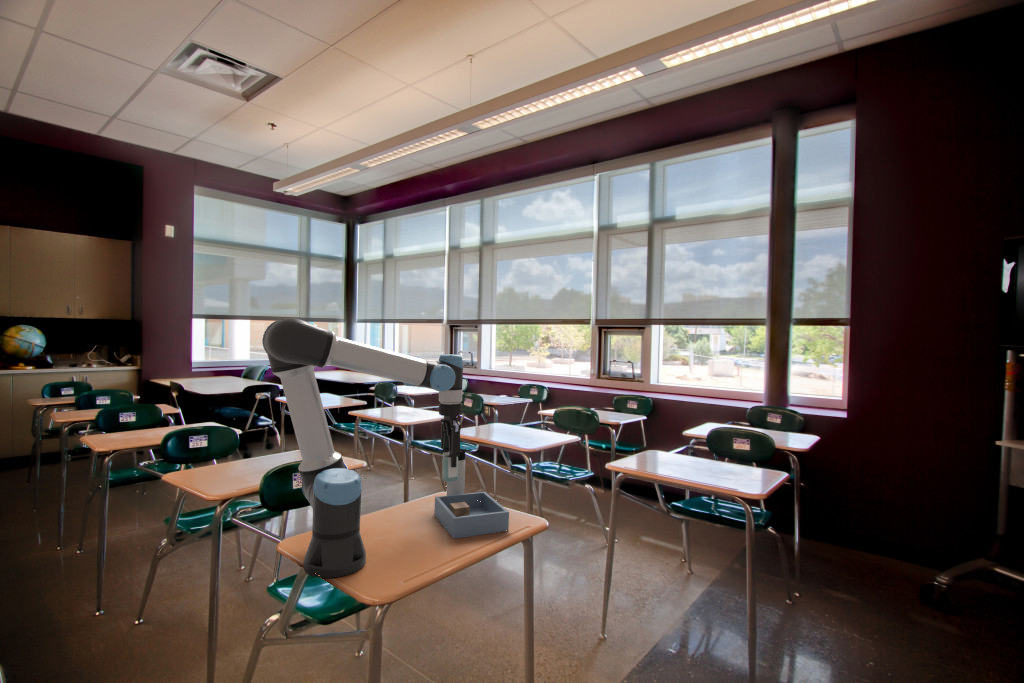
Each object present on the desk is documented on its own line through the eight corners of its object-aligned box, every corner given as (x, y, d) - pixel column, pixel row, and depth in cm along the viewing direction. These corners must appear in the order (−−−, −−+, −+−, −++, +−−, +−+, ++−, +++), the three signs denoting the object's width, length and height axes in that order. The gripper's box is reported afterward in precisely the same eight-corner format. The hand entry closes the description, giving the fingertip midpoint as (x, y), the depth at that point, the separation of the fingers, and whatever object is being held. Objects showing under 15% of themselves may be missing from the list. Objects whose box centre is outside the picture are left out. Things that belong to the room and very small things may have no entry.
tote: (453, 538, 145) (453, 518, 145) (434, 514, 164) (434, 496, 164) (508, 530, 153) (509, 511, 153) (484, 508, 172) (484, 491, 172)
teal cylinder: (449, 482, 154) (449, 460, 154) (439, 479, 157) (439, 457, 157) (461, 478, 158) (461, 457, 158) (451, 475, 161) (451, 454, 161)
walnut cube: (454, 524, 154) (454, 508, 154) (449, 518, 158) (449, 503, 158) (469, 522, 156) (469, 506, 156) (464, 517, 160) (464, 501, 160)
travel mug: (463, 508, 171) (465, 451, 171) (444, 507, 171) (446, 450, 171) (465, 502, 177) (467, 447, 177) (447, 501, 177) (449, 446, 177)
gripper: (471, 405, 151) (470, 480, 151) (453, 398, 167) (452, 466, 167) (448, 407, 147) (447, 483, 148) (431, 399, 164) (430, 468, 164)
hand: (449, 474), depth 158 cm, fingers closed on teal cylinder, 5 cm apart
